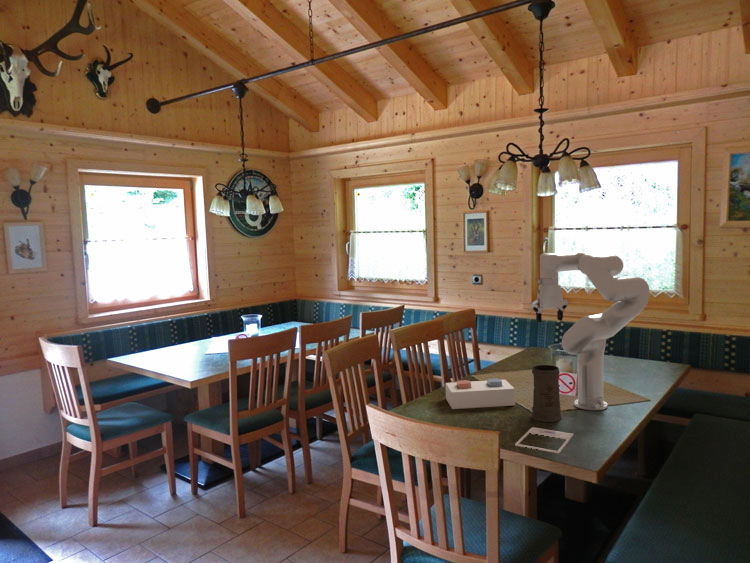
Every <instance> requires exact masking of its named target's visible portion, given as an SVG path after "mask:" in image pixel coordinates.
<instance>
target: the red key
mask: <svg viewBox="0 0 750 563" xmlns="http://www.w3.org/2000/svg"><path fill="white" fill-rule="evenodd" d="M456 382H457V388H458V389H468V388H471V383H470V382H471V381H470V380H469V379H464V380H462V379H461V380H456Z"/></svg>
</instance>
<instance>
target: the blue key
mask: <svg viewBox="0 0 750 563" xmlns="http://www.w3.org/2000/svg"><path fill="white" fill-rule="evenodd" d="M501 380H502V379H500V378H497V377H496V378H487V379H486V381H487V385H488V386H489V387H502V381H501Z"/></svg>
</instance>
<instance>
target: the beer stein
mask: <svg viewBox="0 0 750 563" xmlns="http://www.w3.org/2000/svg"><path fill="white" fill-rule="evenodd" d="M531 375H533V398H532V399H533V400H532V413H531V418H532V419H534V420H535V421H537V422H541V421H542V423H554V422H559V421H561V419H562V414H561V402H560V401H561V400H560V398H561V397H560V383H559V380H560V379H559V378H560V368H559V367H558V366H556V365H552V364H538V365H535V366H533V367H532V370H531Z"/></svg>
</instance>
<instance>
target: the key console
mask: <svg viewBox="0 0 750 563" xmlns="http://www.w3.org/2000/svg"><path fill="white" fill-rule="evenodd" d="M500 380H501V381H502V387H489V386H488V385H487V380H475V381H473V380H472V381H470V383H471V388H468V389H458V388H457V381H455V382H454V381H453V382H445V399H446V401H447V402H448V404H449V406H450V408H451V409H452V410H461V409H476V408H494V407H507V406H509V407H510V406H516V392H515V387H514V386H512V384H511V383H510V382H508V381H507V379H500Z"/></svg>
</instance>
